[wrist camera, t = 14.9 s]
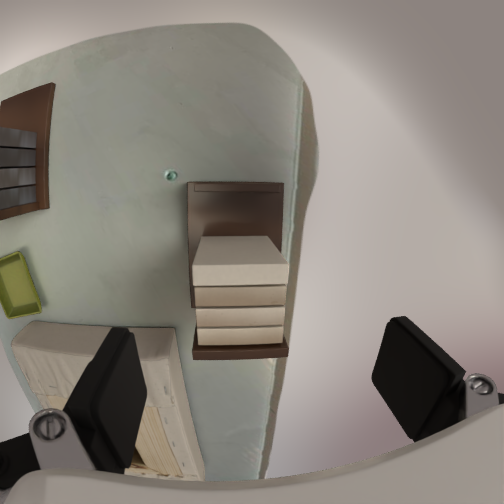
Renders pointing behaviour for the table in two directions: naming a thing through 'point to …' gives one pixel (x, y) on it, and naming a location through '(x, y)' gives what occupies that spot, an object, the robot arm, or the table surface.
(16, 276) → the green tray
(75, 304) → the table surface
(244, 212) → the dark brown rack
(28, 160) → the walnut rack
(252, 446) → the table surface
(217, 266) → the cream book
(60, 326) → the box
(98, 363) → the robot arm
